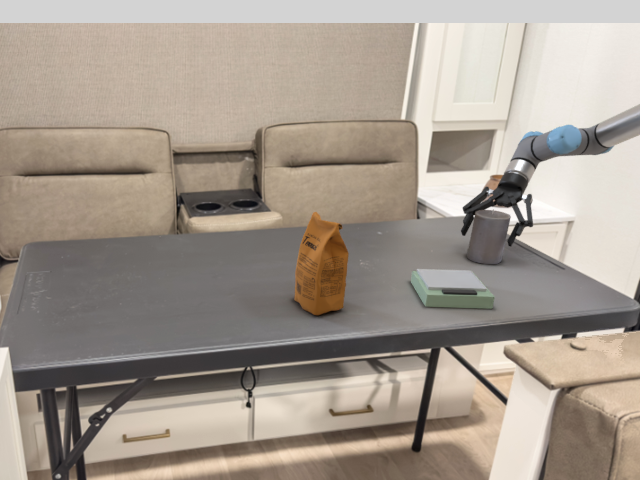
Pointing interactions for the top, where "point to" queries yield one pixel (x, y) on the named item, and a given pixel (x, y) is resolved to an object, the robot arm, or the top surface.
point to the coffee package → (321, 267)
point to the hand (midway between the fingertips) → (485, 238)
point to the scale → (451, 289)
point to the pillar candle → (488, 236)
